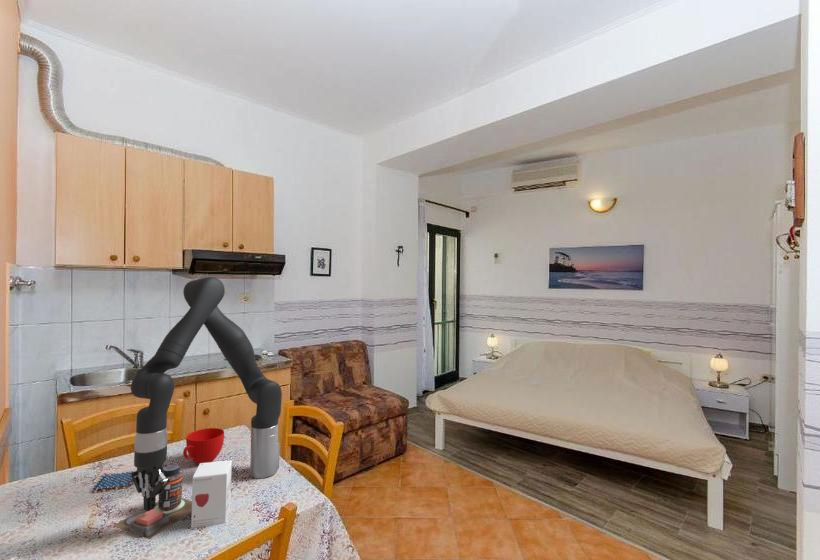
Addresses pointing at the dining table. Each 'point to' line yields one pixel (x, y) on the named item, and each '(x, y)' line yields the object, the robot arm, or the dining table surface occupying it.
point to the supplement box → (211, 493)
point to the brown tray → (158, 526)
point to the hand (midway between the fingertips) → (149, 509)
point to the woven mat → (114, 482)
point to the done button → (149, 517)
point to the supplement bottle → (171, 489)
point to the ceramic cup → (204, 445)
